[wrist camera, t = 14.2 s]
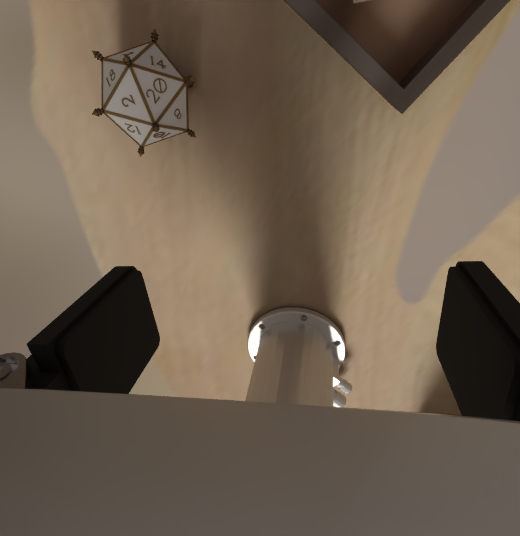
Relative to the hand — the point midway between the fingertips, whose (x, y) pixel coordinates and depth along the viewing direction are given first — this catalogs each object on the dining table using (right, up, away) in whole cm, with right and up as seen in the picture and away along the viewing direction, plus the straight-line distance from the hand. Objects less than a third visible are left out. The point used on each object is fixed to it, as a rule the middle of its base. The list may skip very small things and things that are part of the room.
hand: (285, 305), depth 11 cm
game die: (-10, +18, +22) cm, 30 cm away
